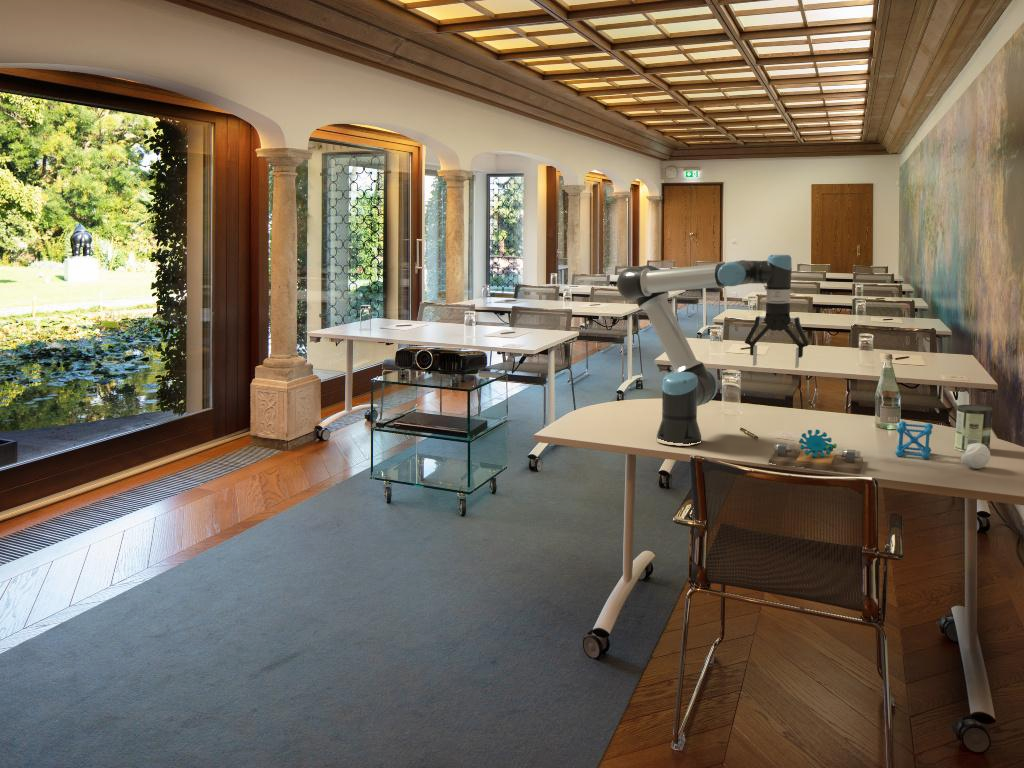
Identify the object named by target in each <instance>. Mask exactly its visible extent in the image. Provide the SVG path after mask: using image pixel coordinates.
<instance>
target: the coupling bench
mask: <svg viewBox="0 0 1024 768" xmlns="http://www.w3.org/2000/svg"><path fill="white" fill-rule="evenodd" d="M805 451H806V450H804V449H803V450H795V449H793V450H792V449H791V452H787V456H786V457H780V456H778V451H774V452H773V453H772V455H771V456H770V458H769V459H768V464H769V463H772V464H776V465H775V466H777V465H779V467H787V466H795V467H794V468H797V467H804V468H803V469H807V468H811V469H810V470H818V471H827V470H833V471H832V472H837V471H840V473H847V474H848V473H849V474H858V473H859V474H860V471H861V469H860V468H862V464H863V460H864V456H861V455H860V459H858V458H855V463H854V464H853V463H846V457H842V454H838V453H837V454H836V453H835V452H834V453H833V452H831V453H830V454H826V451H825V452H824V451H823V453H824V454H825V456H824V457H820V454H821V452H818V453H817V457H816V458H813V457H812V454H813V453H812V452H811V453H809V455H806V454H805Z"/></svg>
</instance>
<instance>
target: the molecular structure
mask: <svg viewBox="0 0 1024 768" xmlns="http://www.w3.org/2000/svg"><path fill="white" fill-rule="evenodd" d="M908 427H914V428H915V427H916V428H924V429H914V428H913V429H912V428H908ZM933 428H934V425H933V424H932V423H930V422H928V423H926V424H924V425H923V424H913V423H907V422H906V421H904V420H900V421H899V422H898V426H897V427H896V431H897V432H898V445H897V446H896V451H894V454H895V456H896V457H898V456H899V458H900V457H902V456H903V455H905V456H913V457H914V456H916V457H922V459H923V460H929V459H930V457H931V452H932V448H931V447H930V435H932V434H933V433H932V432H933V431H932V430H933ZM911 432H912V433H913V432H914V433H918V434H917V435H916V436H915V435H914V436H913V434H912V433H911ZM904 435H905V436H907V438H909V441H907V442H906V443H904V444H903V441H904ZM923 436H925V445H923V444H922V443H921V442H919V439H920V438H922V437H923ZM912 444H915V446H916V447H912V446H911V445H912ZM910 446H911V447H910ZM905 450H911V451H920V452H921V453H914V452H905Z"/></svg>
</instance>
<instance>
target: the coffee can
mask: <svg viewBox="0 0 1024 768" xmlns="http://www.w3.org/2000/svg"><path fill="white" fill-rule="evenodd" d="M993 412H994V408H993V407H990V406H987V405H982V404H981V405H979V404H959V405H957V406H956V422H955V423H956V424H955V438H954V450H955V449H956V450H955V451H958V452H961V451H962V452H961V453H965V452H966V450H967V445H969V444H974V443H981V444H984V445H985V446H986V447H987V448H988V449H989V451H990V449H991V448H990V447H991V436H992V435H991V434H992V424H993V423H992V420H993ZM990 452H991V451H990Z"/></svg>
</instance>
